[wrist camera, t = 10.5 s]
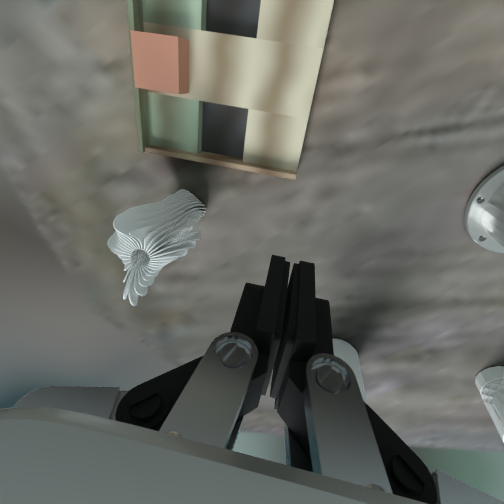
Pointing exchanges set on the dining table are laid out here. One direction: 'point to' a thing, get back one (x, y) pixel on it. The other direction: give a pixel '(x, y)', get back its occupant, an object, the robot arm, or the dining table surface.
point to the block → (160, 62)
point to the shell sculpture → (154, 238)
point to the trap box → (234, 81)
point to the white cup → (493, 394)
